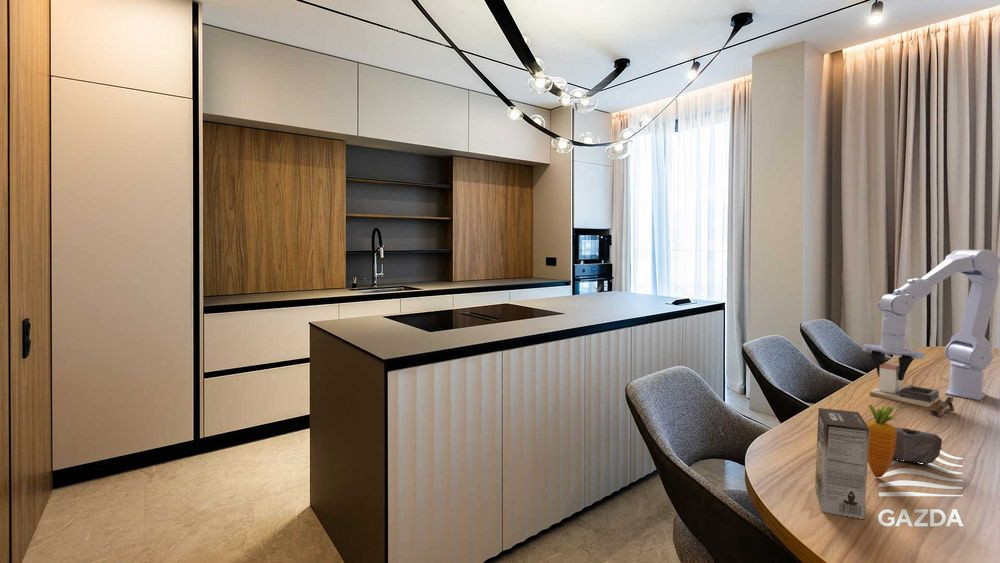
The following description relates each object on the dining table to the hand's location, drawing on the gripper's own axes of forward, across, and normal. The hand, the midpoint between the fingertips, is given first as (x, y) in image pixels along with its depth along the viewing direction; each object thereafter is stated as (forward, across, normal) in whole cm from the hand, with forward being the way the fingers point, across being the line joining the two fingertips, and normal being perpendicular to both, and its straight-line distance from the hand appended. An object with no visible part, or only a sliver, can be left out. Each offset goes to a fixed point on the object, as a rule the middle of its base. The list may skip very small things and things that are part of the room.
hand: (890, 377), depth 150 cm
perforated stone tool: (+5, +15, -53) cm, 55 cm away
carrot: (+5, +16, -67) cm, 69 cm away
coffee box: (+5, +15, -84) cm, 85 cm away
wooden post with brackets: (+6, +14, -9) cm, 18 cm away
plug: (+4, 0, 0) cm, 4 cm away
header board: (+5, +4, 0) cm, 6 cm away
